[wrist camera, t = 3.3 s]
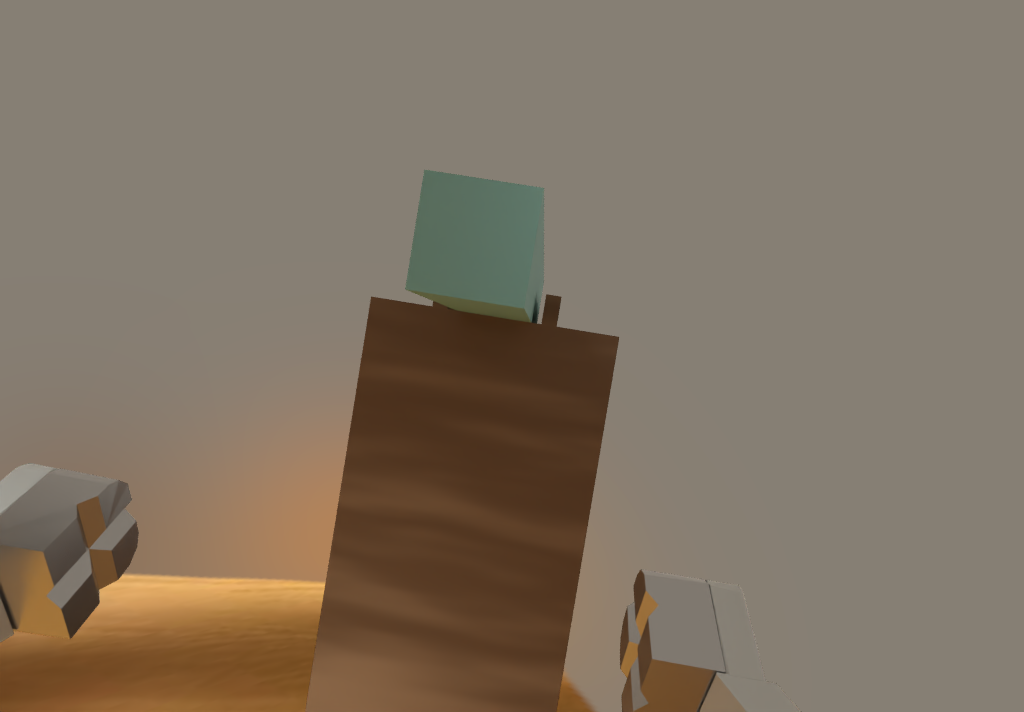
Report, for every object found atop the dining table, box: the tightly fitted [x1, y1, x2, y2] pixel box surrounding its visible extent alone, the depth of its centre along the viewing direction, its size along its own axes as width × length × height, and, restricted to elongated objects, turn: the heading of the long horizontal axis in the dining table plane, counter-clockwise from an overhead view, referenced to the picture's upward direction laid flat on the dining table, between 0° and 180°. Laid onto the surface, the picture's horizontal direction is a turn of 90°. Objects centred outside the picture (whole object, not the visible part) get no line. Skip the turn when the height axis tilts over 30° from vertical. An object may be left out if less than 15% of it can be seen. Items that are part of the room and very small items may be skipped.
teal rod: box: [405, 170, 544, 324], centre depth 28 cm, size 24×3×3 cm, turn 177°
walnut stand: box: [305, 295, 619, 712], centre depth 34 cm, size 14×10×27 cm
